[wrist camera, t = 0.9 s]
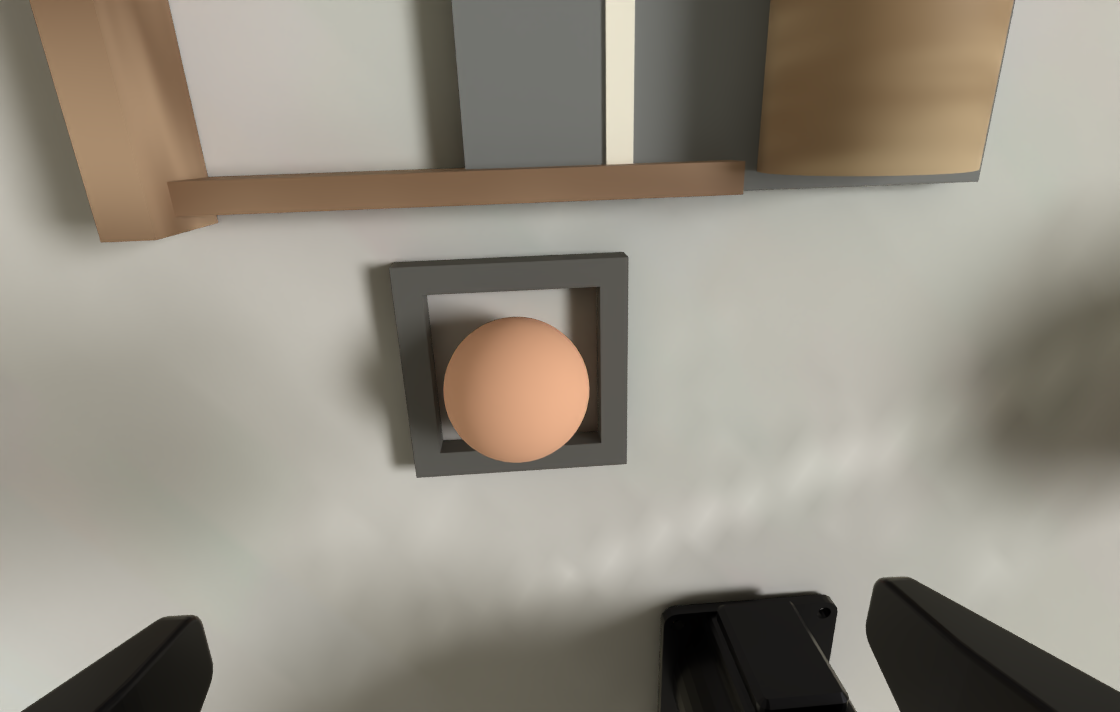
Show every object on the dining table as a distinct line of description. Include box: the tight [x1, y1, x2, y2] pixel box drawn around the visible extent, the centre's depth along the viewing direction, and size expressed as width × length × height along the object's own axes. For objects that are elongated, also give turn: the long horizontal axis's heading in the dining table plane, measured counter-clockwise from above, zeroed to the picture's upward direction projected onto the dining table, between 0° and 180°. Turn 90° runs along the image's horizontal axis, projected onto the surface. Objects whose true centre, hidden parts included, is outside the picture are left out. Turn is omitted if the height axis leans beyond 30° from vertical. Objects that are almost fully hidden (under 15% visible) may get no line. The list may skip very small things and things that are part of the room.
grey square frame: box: [389, 252, 628, 478], centre depth 18 cm, size 7×7×1 cm
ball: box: [443, 317, 589, 463], centre depth 16 cm, size 4×4×4 cm
